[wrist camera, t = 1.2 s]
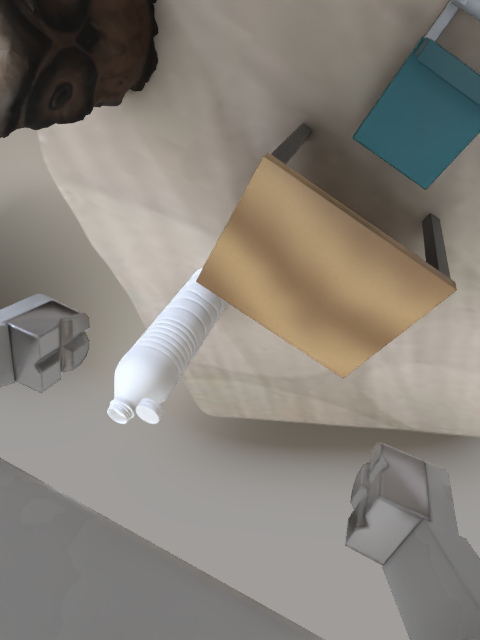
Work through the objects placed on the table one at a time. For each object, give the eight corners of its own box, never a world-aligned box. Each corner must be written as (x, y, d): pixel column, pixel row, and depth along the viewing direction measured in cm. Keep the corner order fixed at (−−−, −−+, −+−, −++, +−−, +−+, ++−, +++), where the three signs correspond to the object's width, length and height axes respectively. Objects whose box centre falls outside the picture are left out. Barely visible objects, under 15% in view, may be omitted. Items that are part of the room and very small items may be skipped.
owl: (130, -101, 32) (-102, -208, 17) (204, 56, 37) (73, 75, 23) (50, -3, 39) (-166, -21, 24) (122, 118, 44) (-20, 164, 29)
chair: (455, -16, 29) (477, -34, 20) (535, 45, 29) (589, 53, 21) (351, 134, 37) (336, 166, 29) (415, 180, 38) (419, 224, 29)
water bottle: (206, 307, 58) (113, 439, 39) (185, 272, 55) (75, 396, 36) (254, 295, 53) (175, 438, 35) (234, 256, 50) (136, 388, 32)
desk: (302, 120, 38) (263, 155, 27) (442, 219, 39) (457, 290, 29) (241, 225, 47) (195, 281, 37) (356, 302, 48) (343, 378, 38)
